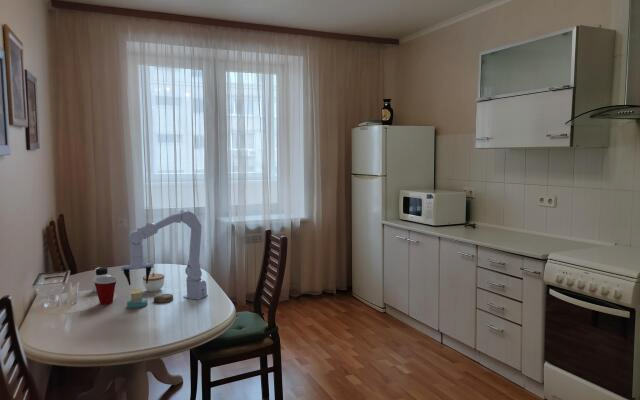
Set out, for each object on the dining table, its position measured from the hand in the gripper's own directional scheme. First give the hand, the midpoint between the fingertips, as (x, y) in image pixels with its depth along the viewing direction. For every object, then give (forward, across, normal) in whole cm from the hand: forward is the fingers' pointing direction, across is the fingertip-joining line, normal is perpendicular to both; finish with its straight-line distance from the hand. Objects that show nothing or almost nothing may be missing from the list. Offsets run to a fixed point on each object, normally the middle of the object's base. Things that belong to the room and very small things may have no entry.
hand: (138, 283), depth 225 cm
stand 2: (+10, -11, -3) cm, 15 cm away
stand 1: (+10, +1, +1) cm, 10 cm away
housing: (+8, +1, +1) cm, 8 cm away
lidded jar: (+11, -7, -23) cm, 26 cm away
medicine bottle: (+10, +19, -35) cm, 41 cm away
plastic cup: (+10, +15, -9) cm, 21 cm away
